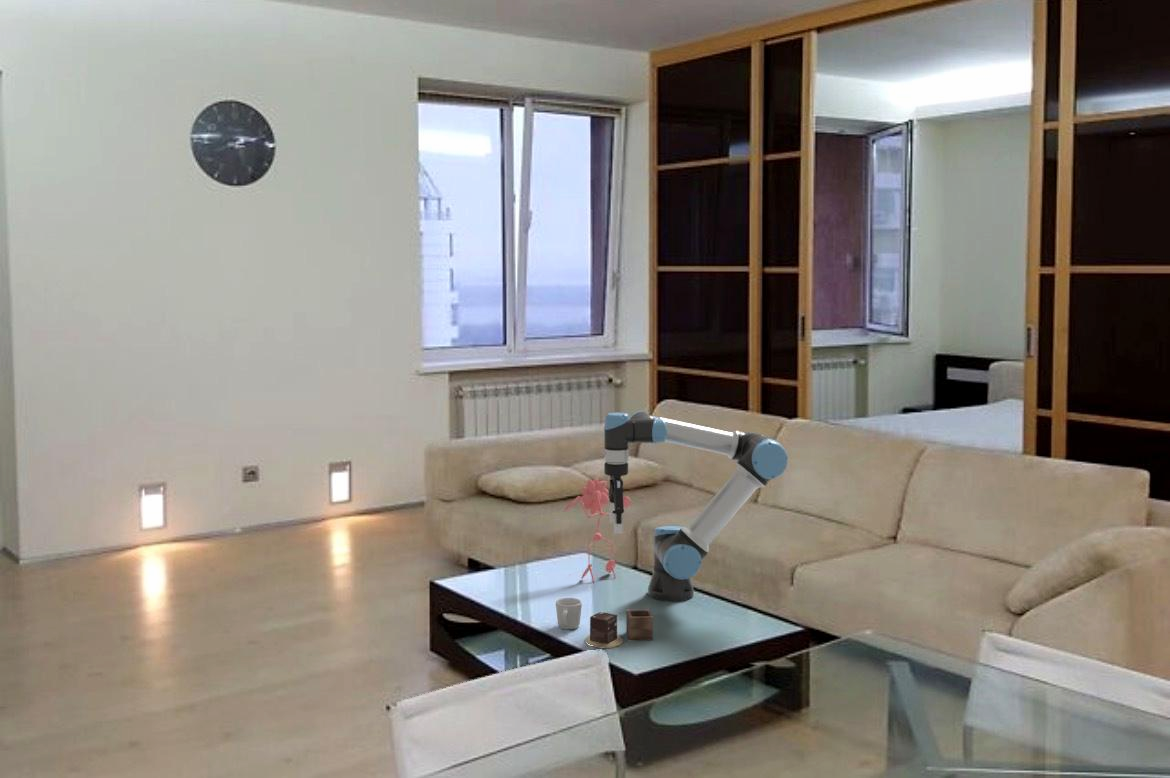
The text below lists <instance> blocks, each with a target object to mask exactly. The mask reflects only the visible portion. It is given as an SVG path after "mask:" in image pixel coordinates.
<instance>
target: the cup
mask: <svg viewBox="0 0 1170 778" xmlns="http://www.w3.org/2000/svg"><path fill="white" fill-rule="evenodd" d="M582 606H583V601H582V600H580V599H578V598H576V597H563V598H558V599H557V600H556V601H555V608H556V619H557V624H558V627H559V628H560V629H564V630H575V629H577V628H579V626H580V624H581V616H582Z"/></svg>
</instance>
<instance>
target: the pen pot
mask: <svg viewBox="0 0 1170 778" xmlns="http://www.w3.org/2000/svg"><path fill="white" fill-rule="evenodd" d="M625 615H626V617H625V619H626V620H625V621H626V622H625V623H626V624H625V626H626V627H625V628H626V630H625V631H626V632H625V633H626V636H627V639H628V641H630V642H634V641H653V640H654V615H653V612H652V611H651V609H626V614H625Z"/></svg>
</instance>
